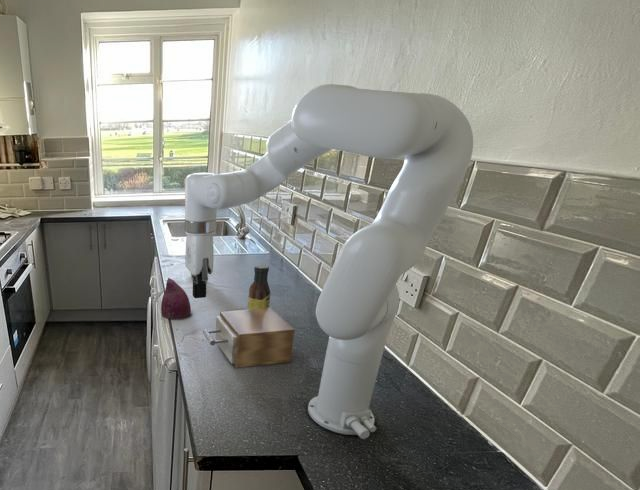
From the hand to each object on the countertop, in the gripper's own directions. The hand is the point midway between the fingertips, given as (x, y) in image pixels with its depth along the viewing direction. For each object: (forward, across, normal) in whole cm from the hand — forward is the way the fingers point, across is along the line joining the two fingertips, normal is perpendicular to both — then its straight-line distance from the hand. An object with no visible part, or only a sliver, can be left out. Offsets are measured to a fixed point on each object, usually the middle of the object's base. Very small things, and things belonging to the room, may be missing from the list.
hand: (199, 296), depth 105 cm
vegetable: (+17, -28, 0) cm, 33 cm away
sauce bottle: (+17, -12, +22) cm, 31 cm away
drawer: (+16, +2, +11) cm, 20 cm away
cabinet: (+17, +2, +15) cm, 23 cm away
